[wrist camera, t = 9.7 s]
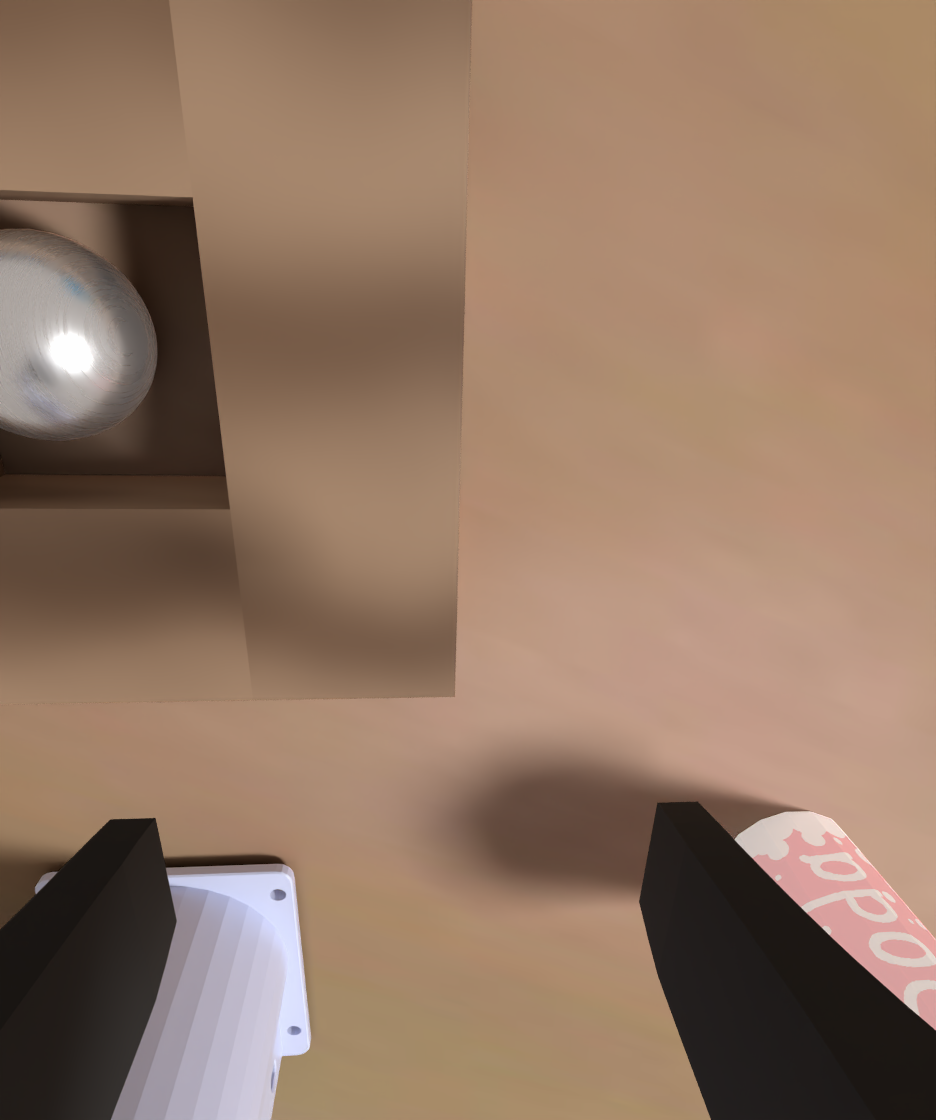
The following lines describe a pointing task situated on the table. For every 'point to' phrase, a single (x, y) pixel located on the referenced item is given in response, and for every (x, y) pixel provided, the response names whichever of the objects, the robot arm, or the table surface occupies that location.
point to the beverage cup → (848, 902)
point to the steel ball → (68, 339)
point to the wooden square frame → (258, 349)
